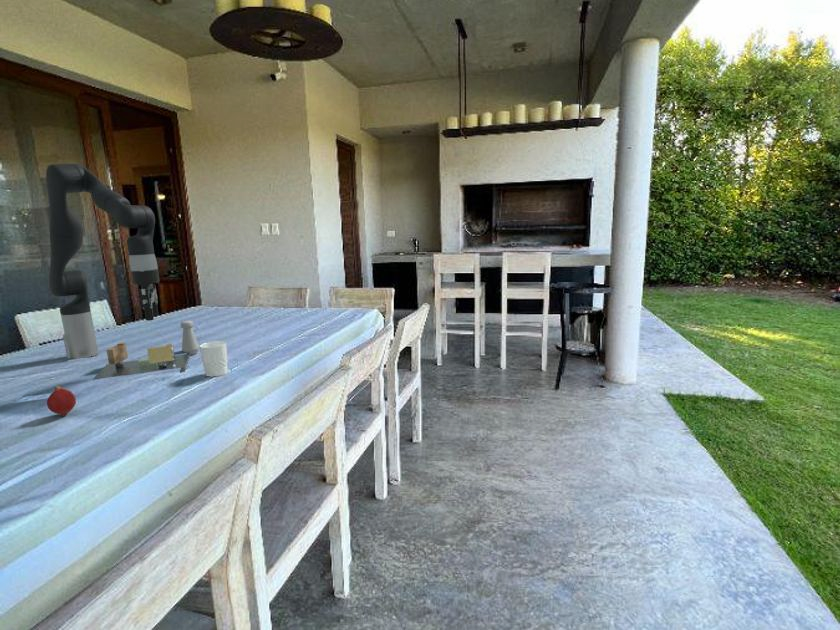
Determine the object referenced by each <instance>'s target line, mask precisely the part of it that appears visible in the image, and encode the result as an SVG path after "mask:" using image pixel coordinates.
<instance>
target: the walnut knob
mask: <svg viewBox="0 0 840 630" xmlns="http://www.w3.org/2000/svg"><path fill="white" fill-rule="evenodd" d="M126 344H127V343H126V342H118V343H117V344H116V345H115V346H112V347H109V348H108V349H106V355H107V360H108V364H115V367H122V366H124V364H123V362H124V360H126V359H128V358H129V357H128V350H127V345H126Z"/></svg>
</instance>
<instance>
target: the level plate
mask: <svg viewBox="0 0 840 630" xmlns="http://www.w3.org/2000/svg"><path fill="white" fill-rule="evenodd" d="M174 349H175V348H174V346H172V350H173V357H174V360H173V361H166V365H167V366H166V367H158V363H150V364H149V358H148V357H147V358H140V359H136V360H128V361H123V364H124V366H122V367H115V364H109V363H107V364H105V365H104V367H103V368H102V369H100V371H99V372H98V373H97V374H96V375H95V376H94V377H93V378H91V379H92V380H99V379H109V378H114V377H115V378H116V377H122V376H128V375H129V376H131V375H138V374H145V373H152V372H159V371H166V370H174V369H180V370H179V373H183V372H182V371H184V372H186V371H187V368H188V365H187V364H189V362H190V359H191V356H190V354H187V353H185V354H177V355H175V350H174ZM188 361H189V362H188ZM186 367H187V368H186ZM185 370H186V371H185Z"/></svg>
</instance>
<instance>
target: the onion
mask: <svg viewBox="0 0 840 630" xmlns="http://www.w3.org/2000/svg"><path fill="white" fill-rule="evenodd" d="M76 403H77V400H76V395H74V394H73V392H72V391H70V390H69V389H66V388H62V387H61V386H56V387H54V391H53V392H51V393H50V395H49V396H48V398H47V400H46V406H47V408H48V409H49V411H50V412H52V413H54V414H57V415H59V416H62V417H63V416H66V415H68V413H70V412H71V411H72V410H73V409H74V407H75V405H76Z"/></svg>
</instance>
